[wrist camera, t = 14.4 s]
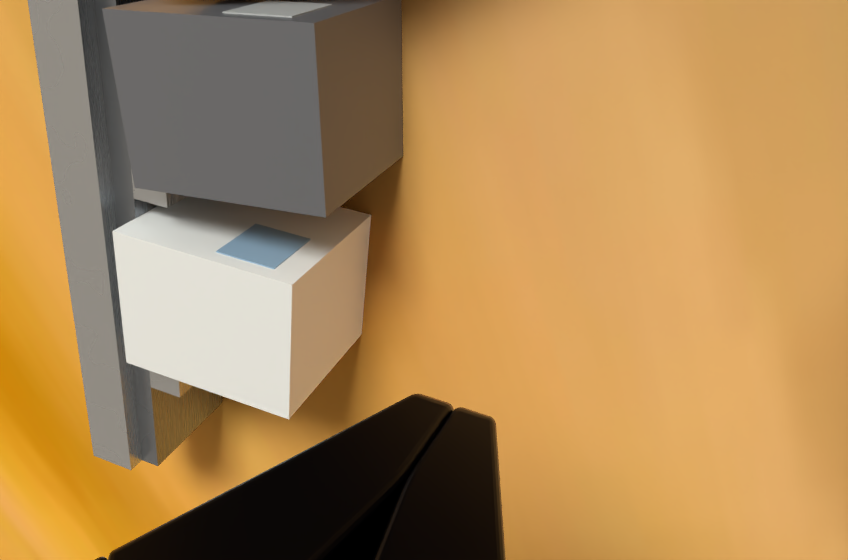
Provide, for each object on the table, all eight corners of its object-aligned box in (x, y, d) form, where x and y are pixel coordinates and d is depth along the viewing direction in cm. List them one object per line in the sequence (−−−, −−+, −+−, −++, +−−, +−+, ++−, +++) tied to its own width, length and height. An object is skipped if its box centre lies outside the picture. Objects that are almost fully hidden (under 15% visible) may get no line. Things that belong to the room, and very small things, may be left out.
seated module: (403, -7, 18) (314, 21, 14) (404, 156, 20) (326, 218, 16) (223, -17, 20) (101, 7, 16) (240, 135, 22) (135, 189, 18)
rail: (241, -16, 19) (138, 6, 16) (247, 411, 26) (174, 487, 23) (143, -34, 20) (25, -18, 17) (173, 385, 27) (94, 455, 24)
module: (372, 213, 21) (292, 283, 17) (362, 333, 23) (288, 420, 19) (217, 172, 22) (112, 229, 19) (221, 289, 24) (126, 363, 21)
